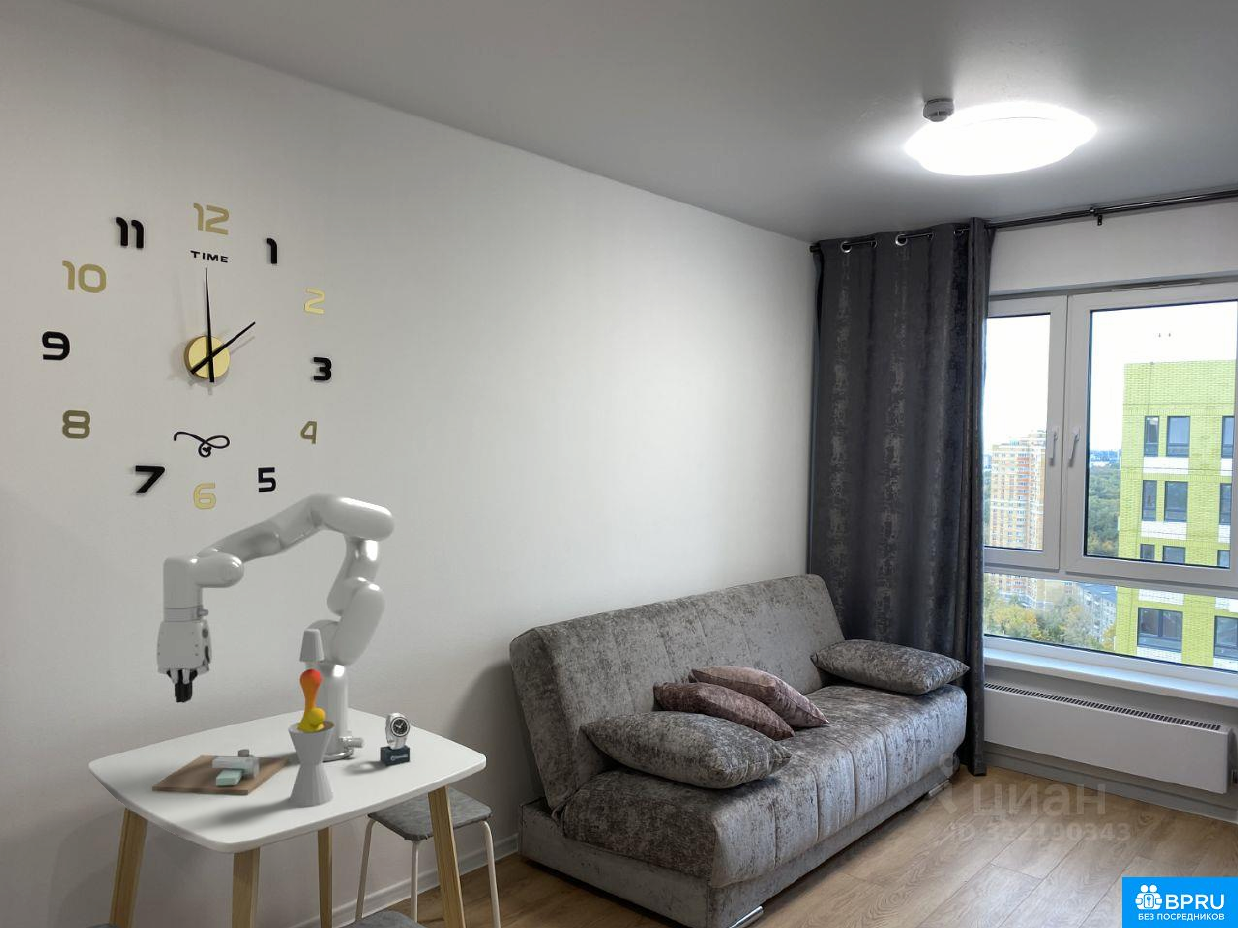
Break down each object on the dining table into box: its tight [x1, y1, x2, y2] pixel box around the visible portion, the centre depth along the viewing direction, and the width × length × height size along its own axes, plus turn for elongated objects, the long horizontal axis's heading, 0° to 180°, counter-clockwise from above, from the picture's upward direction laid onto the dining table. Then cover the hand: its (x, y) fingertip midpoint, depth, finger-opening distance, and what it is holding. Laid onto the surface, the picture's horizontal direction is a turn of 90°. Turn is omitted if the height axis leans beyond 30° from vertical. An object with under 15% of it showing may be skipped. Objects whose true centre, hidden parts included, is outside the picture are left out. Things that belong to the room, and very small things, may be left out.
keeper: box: [212, 755, 259, 779], centre depth 200 cm, size 9×3×4 cm, turn 86°
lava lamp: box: [287, 628, 334, 808], centre depth 190 cm, size 9×9×35 cm
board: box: [151, 748, 290, 795], centre depth 203 cm, size 21×20×4 cm
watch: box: [379, 712, 412, 767], centre depth 213 cm, size 6×8×11 cm
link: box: [216, 754, 255, 786], centre depth 201 cm, size 15×4×2 cm, turn 7°
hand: (183, 700), depth 194 cm, fingers closed
